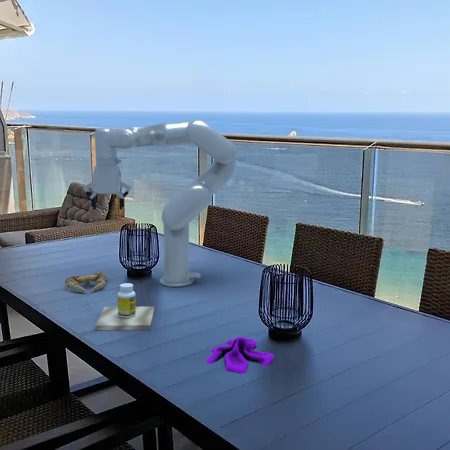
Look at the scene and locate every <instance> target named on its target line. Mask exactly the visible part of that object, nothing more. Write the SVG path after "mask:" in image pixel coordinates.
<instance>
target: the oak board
mask: <svg viewBox="0 0 450 450" xmlns="http://www.w3.org/2000/svg"><path fill="white" fill-rule="evenodd" d="M154 314H155V306H136V314H135V316H133V317H131V318H121V317H119V316H118V306H104V307H103V309H102V311H101V313H100V315H99V317H98V320H97V322H96V323H95V326H94V327H95V328H94V329H95V331H150V330H151V328H152V324H153V318H154Z"/></svg>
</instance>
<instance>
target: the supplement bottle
mask: <svg viewBox="0 0 450 450" xmlns="http://www.w3.org/2000/svg"><path fill="white" fill-rule="evenodd" d="M119 290H120V291H119V292H117V307H118V316H119V317H121V318H131V317H133V316H135V314H136V307H137V306H136V303H137V301H136V299H137V298H136V292H135V291H134V284H133V283H130V282H129V283H127V282H126V283H121V284H119Z"/></svg>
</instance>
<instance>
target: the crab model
mask: <svg viewBox="0 0 450 450" xmlns="http://www.w3.org/2000/svg"><path fill="white" fill-rule="evenodd" d="M102 278H103V279H102ZM70 282H71V284H70ZM93 282H94V283H97V284H96V285H95V286H94V287H93V288H92V289H91V290H90V293H94V292H96V291H97V290H99V289H101V288H103V286H105V285H107V284H108V282H109V277H108V274H106V273H105V272H103V271H96V272H95V273H94V274H87V275H86V274H85V275H82V276H79V275H77V274H76V275H70V276H69V277H67V278H66V279H65V282H64V283H65V289H66V290H67V291H68V292H70V291H71V290H70V288H73V290H75V291H77V292H80V293H83V294H86V293H88V291H87V290H86V289H85V288H84V287H83V286H81V285H82V284H85V285H87V286H90V284H91V283H93Z"/></svg>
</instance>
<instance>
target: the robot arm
mask: <svg viewBox="0 0 450 450" xmlns="http://www.w3.org/2000/svg"><path fill="white" fill-rule="evenodd" d="M182 145H195V146H196V147H197V148H198V149H200V150H201V151H202V152H203V153H205V154H206V155H208V156H209V157H210V158H212V159H213V161H212V162H211V165H210V166H208V168H207V169H206V170H204V172H202V173H201V174H200V175H199V176H198V177H197V178H196V179H195V180H194V181H192V182H191V183H189V184H188V185H187V186H186V189H185V190H184V191H183V192H182V193H181V194H180V195H178V196H177V197H176V198H175V199H172V200H169V201H168V202H167V203H166V204H165V205H164V207H163V209H162V213H161V221H162V224H163V276H162V277H161V278H160V279H159V283H160V284H161V285H162V286H166V287H173V288H177V287H178V288H179V287H185V286H190V285H192V284H193V283H194V279H201V278H202V277H201V276H202V274H201V273H200V272H198V271H196V272H195V271H194V272H192V271H191V269H190V223H191V222H192V221H193V220H194V219H195V218H196V217H198V216H199V215H200V214H201V213H202V212H203V211H205V209H206V208H207V207H208V205H209V204H210V202H211V198H212V197H213V196H214V195H215V194H216V193H217V192H218V191H219V190H221V188H222V187H223V186H224V185H226V183H227V182H228V181H229V180H230V179H231V177H232V176H233V174H234V171H235V169H236V163H237V148H236V146H235V144H234V143H233V142H232V141H231V140H230V139H228V138H227V137H225V136H224V135H223V134H221V133H220V132H219V131H217V130H216V129H214V127H212V126H211V125H210V124H209V123H207V121H205V120H203V119H191V120H190V119H188V120H181V121H169V122H168V121H166V122H161V123H157V124H151V125H142V126H140V125H139V126H132V127H122V128H111V127H105V128H104V127H99V128H96V129H95V130H94V146H95V165H94V167H93V172H92V173H93V174H92V182H90V183H88V184H85V185H83V187H82V189H83V190H84V192H85V194H86V195H87V197H89V198H90V201H91V205H90V206H91V208H92V210H94V211H95V210H96V209H97V208H98V207H97V198H96V196H97V195H115V194H117V196H118V197H119V199H118V200H119V201H118V202H119V203H118V204H119V206H118V207H119V210H120V211H122V210H123V208H124V207H125V197H127V195H128V194H129V193H130V191H131V190H132V186H130V185H128V184H127V183H125V182H123V181H122V172H121V168H120V166H119V164H121V163H122V160H121V159H119V158H118V157H117V156H118V155H117V154H118V151H117V150H118V149H120V150H121V149H122V150H129V149H132V148H140V147H149V146H150V147H151V146H154V147H155V146H158V147H173V146H174V147H175V146H182ZM91 187H92V192H91V191H90V189H89V188H91ZM123 188H125V191H124V193H123V192H122V190H123Z"/></svg>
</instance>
